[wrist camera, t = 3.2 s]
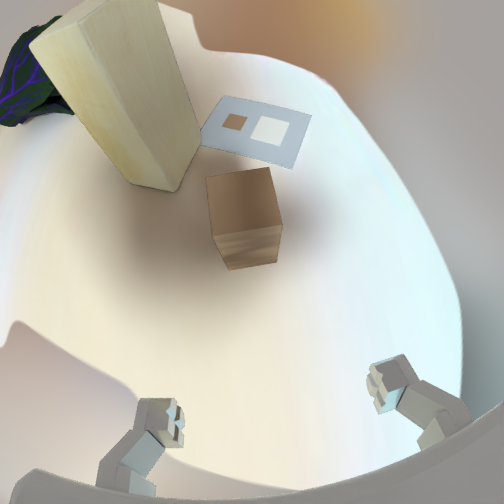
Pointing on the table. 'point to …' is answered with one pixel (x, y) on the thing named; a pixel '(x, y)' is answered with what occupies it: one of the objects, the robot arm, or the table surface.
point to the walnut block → (244, 217)
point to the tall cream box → (124, 87)
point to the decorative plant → (28, 84)
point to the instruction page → (256, 130)
